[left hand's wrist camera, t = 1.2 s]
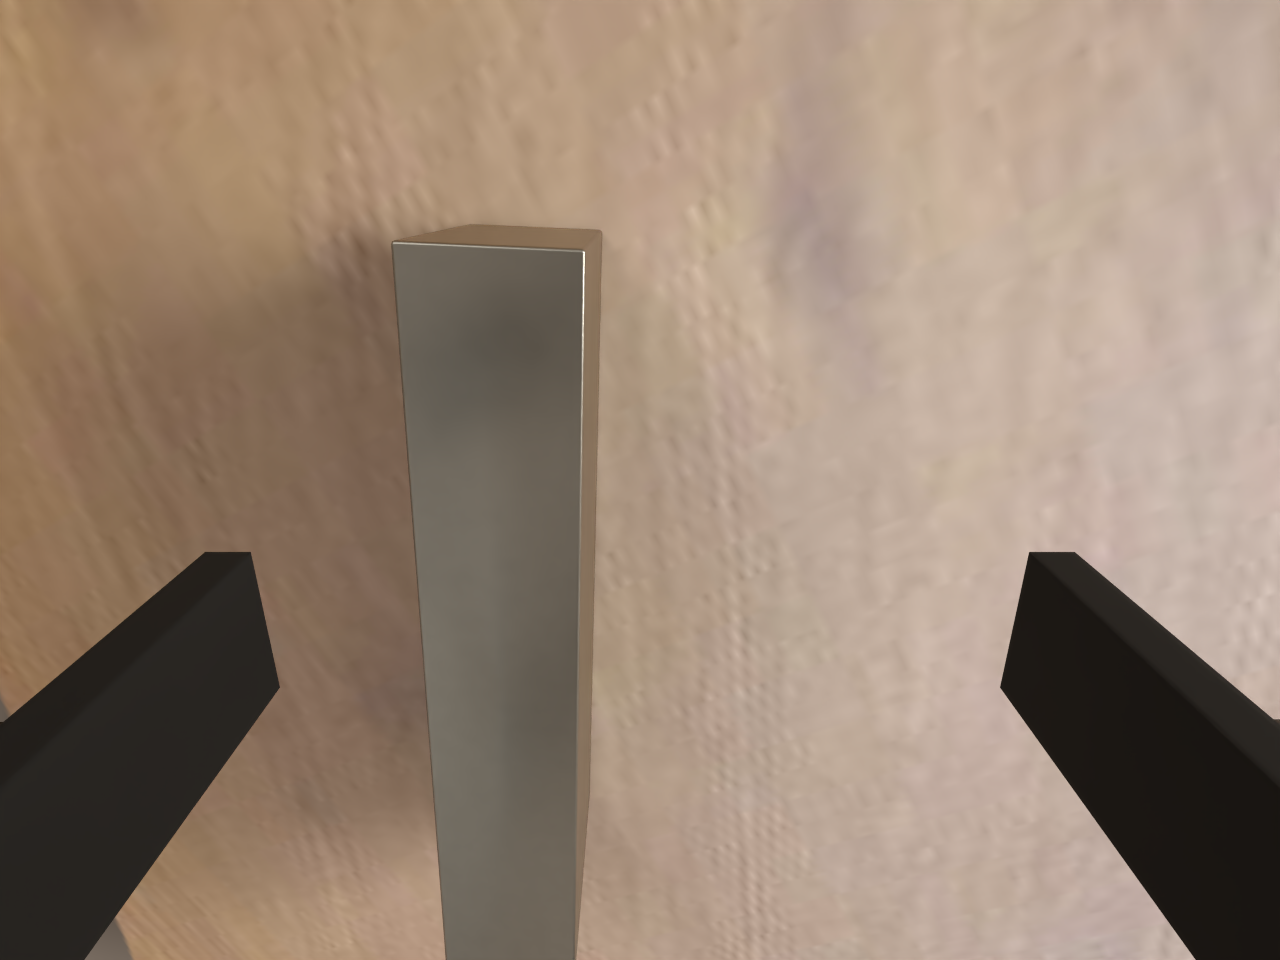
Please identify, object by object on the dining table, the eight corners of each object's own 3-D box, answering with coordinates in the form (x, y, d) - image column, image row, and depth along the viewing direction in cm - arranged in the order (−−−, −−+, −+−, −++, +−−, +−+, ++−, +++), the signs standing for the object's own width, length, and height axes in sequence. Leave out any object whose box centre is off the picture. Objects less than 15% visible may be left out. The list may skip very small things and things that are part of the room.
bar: (468, 223, 25) (389, 240, 17) (602, 230, 25) (585, 248, 17) (491, 792, 34) (446, 976, 26) (589, 795, 34) (574, 979, 26)
